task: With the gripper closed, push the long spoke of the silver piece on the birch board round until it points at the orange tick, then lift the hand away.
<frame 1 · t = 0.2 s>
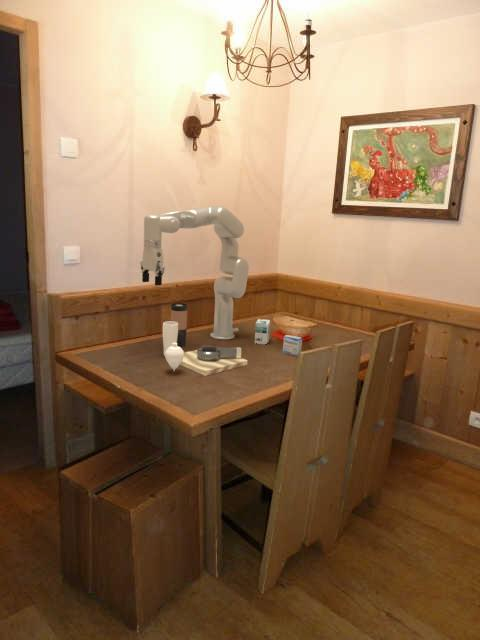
hand: (151, 283, 205), 31 cm above the table, tool pointing down, fingers open, 9 cm apart
silver piece: (219, 351, 200), point 5 cm above the table, hinge at 145.0°
medicine box: (291, 354, 220), on the table
board: (208, 362, 201), on the table
travel mug: (178, 345, 223), on the table
drinking glass: (169, 356, 207), on the table
light bulb box: (261, 342, 239), on the table
spinning top: (174, 372, 187), on the table
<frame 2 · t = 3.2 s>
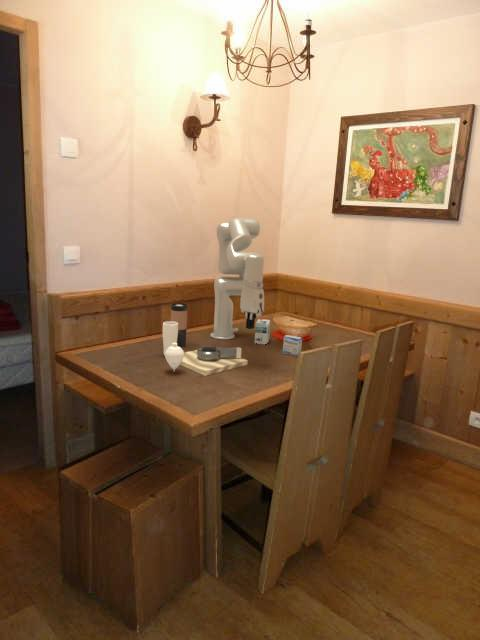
hand: (250, 328, 194), 17 cm above the table, tool pointing down, fingers closed
nothing on the table moved.
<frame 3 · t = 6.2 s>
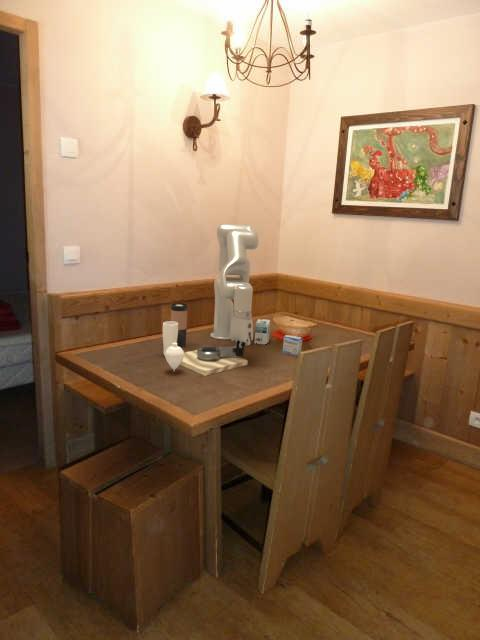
hand: (239, 355, 201), 4 cm above the table, tool pointing down, fingers closed
silver piece: (218, 351, 201), point 5 cm above the table, hinge at 152.9°
everything else where it was.
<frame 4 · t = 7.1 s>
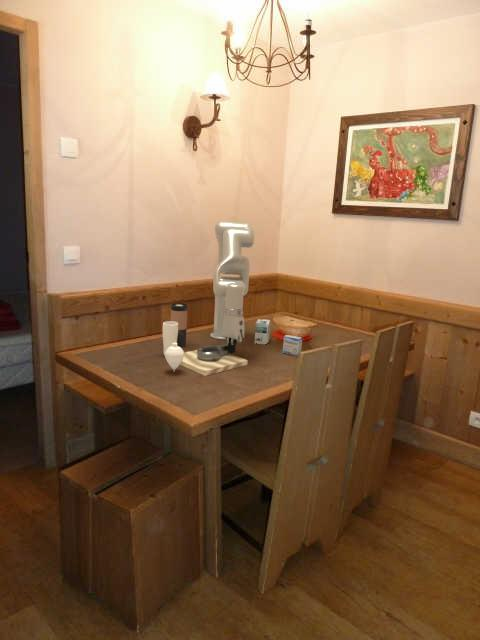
hand: (231, 352, 204), 4 cm above the table, tool pointing down, fingers closed
silver piece: (216, 350, 203), point 5 cm above the table, hinge at 177.1°, touching gripper
everything else where it was.
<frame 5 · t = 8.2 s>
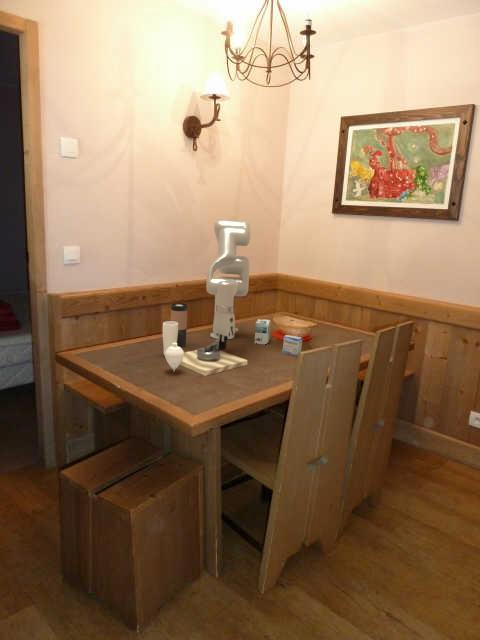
hand: (222, 349, 208), 4 cm above the table, tool pointing down, fingers closed
silver piece: (212, 349, 204), point 5 cm above the table, hinge at 210.4°, touching gripper
everything else where it was.
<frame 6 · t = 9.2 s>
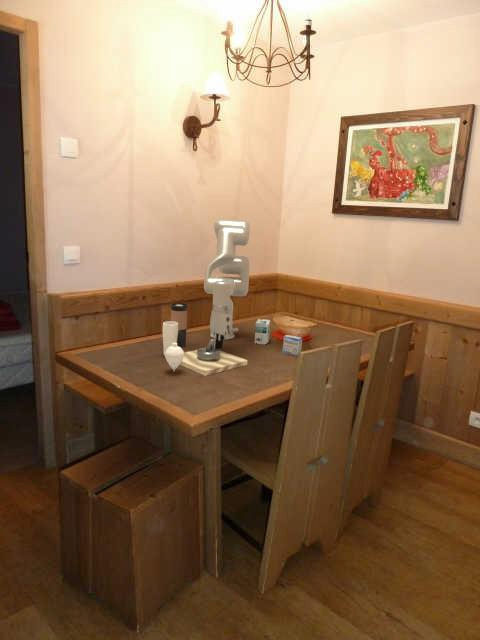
hand: (218, 348, 210), 4 cm above the table, tool pointing down, fingers closed
silver piece: (210, 348, 204), point 5 cm above the table, hinge at 221.2°, touching gripper
everything else where it was.
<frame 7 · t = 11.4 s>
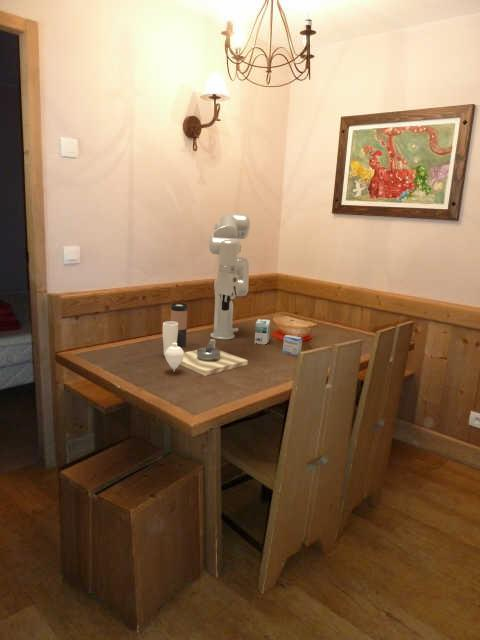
hand: (225, 309, 206), 21 cm above the table, tool pointing down, fingers closed
silver piece: (210, 348, 204), point 5 cm above the table, hinge at 221.4°
everything else where it was.
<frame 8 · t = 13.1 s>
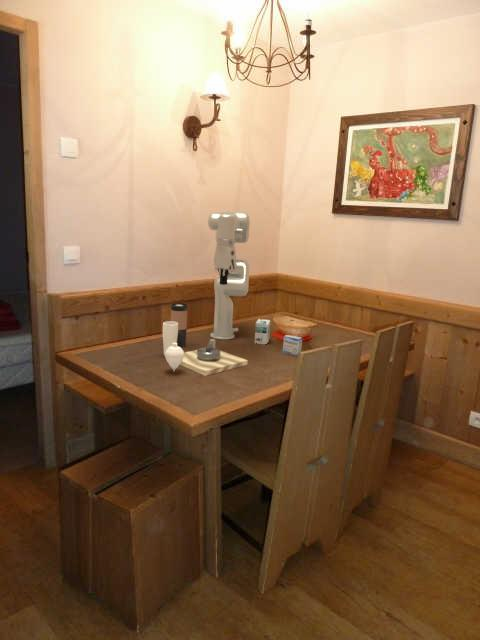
hand: (223, 284, 209), 32 cm above the table, tool pointing down, fingers closed
nothing on the table moved.
at the end: silver piece at +221° (first picture: +145°) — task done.
